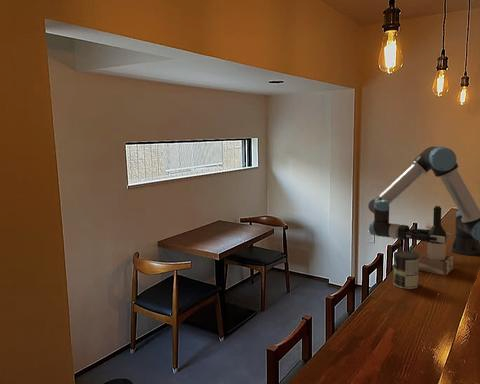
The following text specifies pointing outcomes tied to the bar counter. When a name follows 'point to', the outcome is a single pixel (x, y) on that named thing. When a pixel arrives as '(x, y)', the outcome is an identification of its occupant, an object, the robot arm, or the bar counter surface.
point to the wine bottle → (436, 248)
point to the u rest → (437, 265)
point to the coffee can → (406, 269)
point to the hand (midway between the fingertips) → (447, 238)
